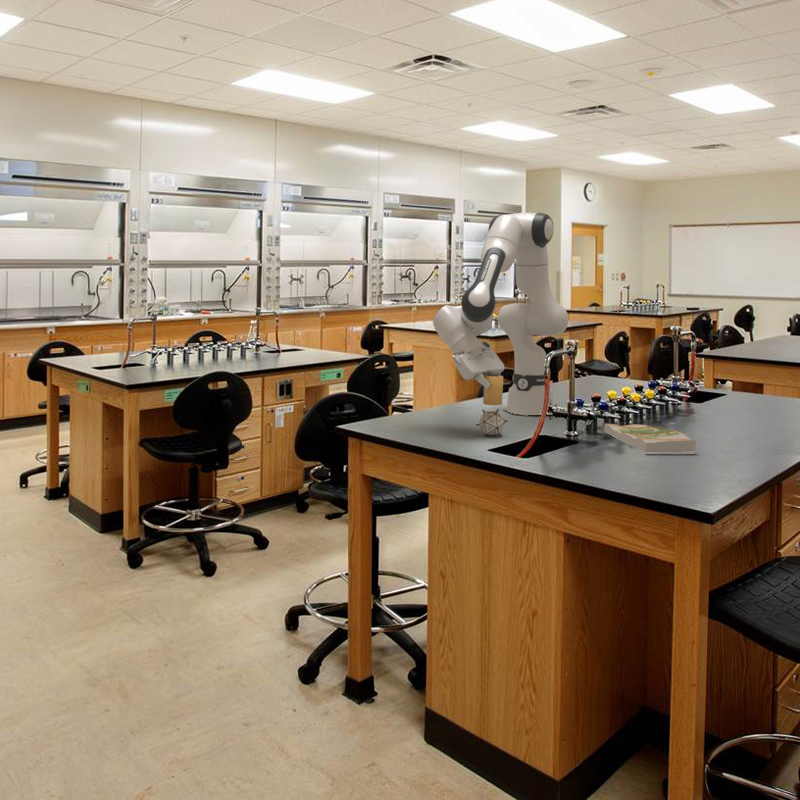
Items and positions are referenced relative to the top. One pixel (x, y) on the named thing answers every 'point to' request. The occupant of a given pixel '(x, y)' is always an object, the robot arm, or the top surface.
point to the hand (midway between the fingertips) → (495, 386)
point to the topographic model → (651, 438)
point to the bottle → (493, 389)
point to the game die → (491, 422)
